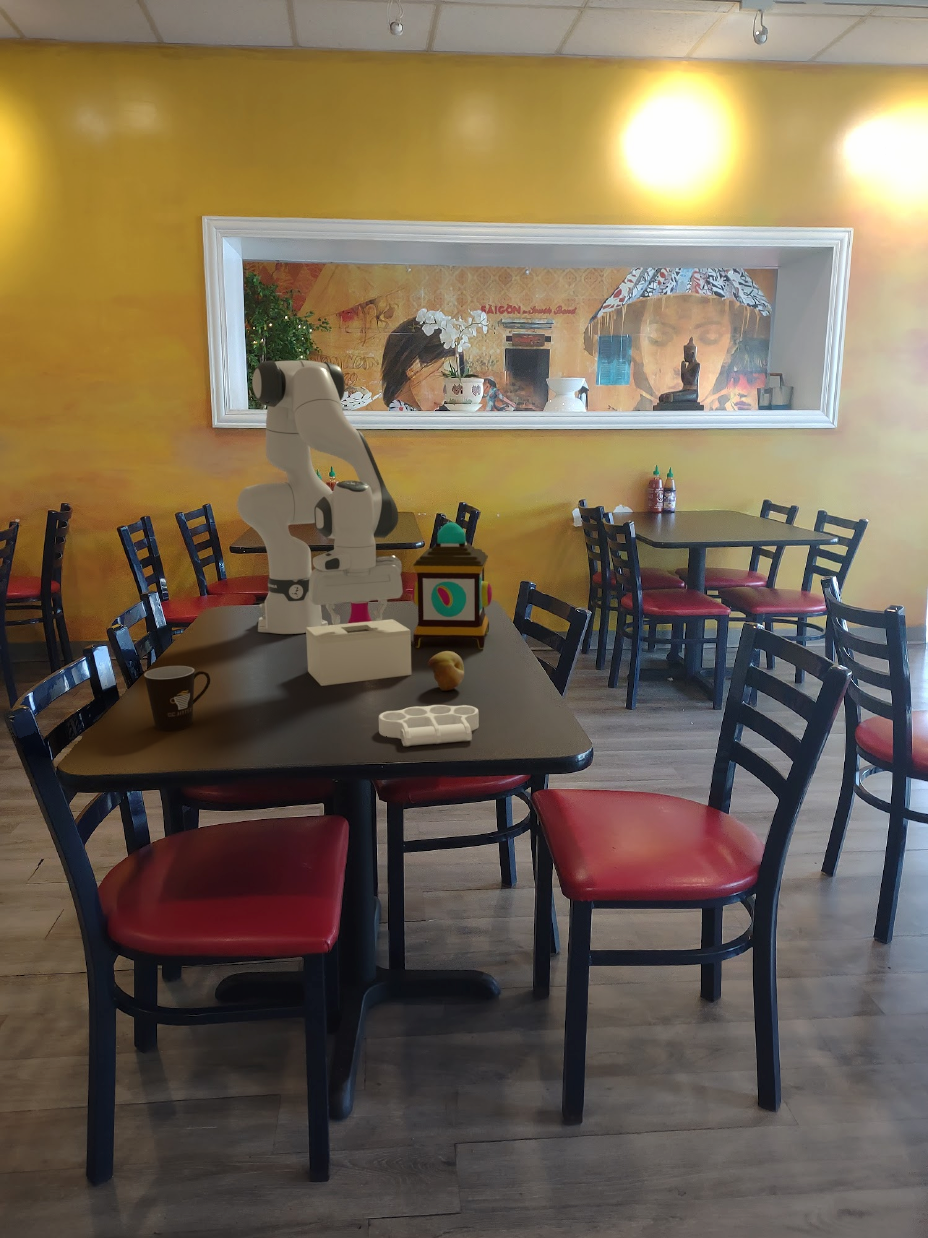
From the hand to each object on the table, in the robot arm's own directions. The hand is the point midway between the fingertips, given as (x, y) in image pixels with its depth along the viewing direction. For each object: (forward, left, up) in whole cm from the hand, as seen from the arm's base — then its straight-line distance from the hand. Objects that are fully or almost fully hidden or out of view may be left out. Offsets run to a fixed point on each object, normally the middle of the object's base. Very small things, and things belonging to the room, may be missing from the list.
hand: (357, 621), depth 186 cm
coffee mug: (+19, -39, -12) cm, 45 cm away
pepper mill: (-19, +6, -12) cm, 23 cm away
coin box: (0, 0, -12) cm, 12 cm away
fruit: (+19, +13, -12) cm, 26 cm away
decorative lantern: (-19, +30, -12) cm, 37 cm away
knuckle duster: (+41, +1, -12) cm, 43 cm away
